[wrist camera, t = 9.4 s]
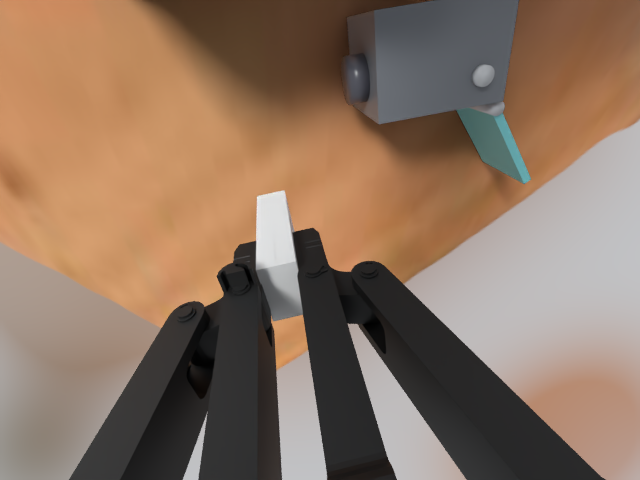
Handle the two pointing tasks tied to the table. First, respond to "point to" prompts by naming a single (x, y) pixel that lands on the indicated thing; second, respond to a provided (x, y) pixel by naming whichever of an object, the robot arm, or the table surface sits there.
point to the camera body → (428, 57)
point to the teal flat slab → (494, 139)
